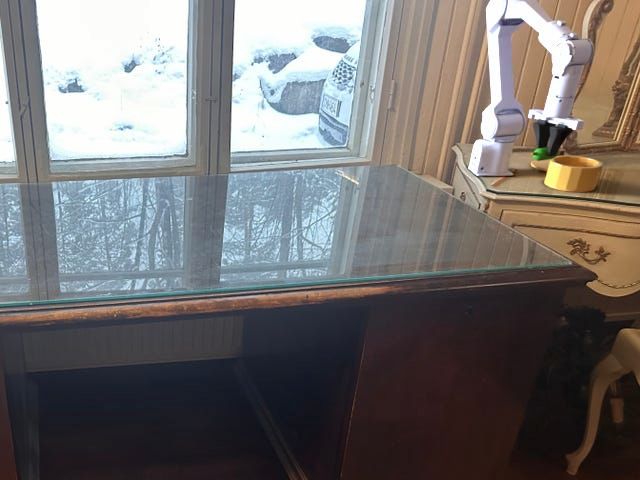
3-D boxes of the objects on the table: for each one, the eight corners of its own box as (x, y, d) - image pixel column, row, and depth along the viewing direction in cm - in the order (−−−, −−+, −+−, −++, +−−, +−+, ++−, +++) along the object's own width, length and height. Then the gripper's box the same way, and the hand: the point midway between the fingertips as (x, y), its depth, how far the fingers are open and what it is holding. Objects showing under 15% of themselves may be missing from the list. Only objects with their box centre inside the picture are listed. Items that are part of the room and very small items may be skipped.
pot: (556, 192, 170) (563, 168, 167) (536, 178, 180) (542, 155, 176) (604, 191, 169) (611, 167, 166) (581, 178, 179) (588, 155, 176)
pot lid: (541, 175, 182) (546, 156, 179) (522, 162, 193) (527, 144, 190) (589, 174, 181) (595, 155, 179) (568, 161, 192) (573, 143, 189)
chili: (534, 163, 165) (538, 151, 163) (525, 160, 167) (528, 147, 166) (559, 159, 167) (563, 147, 165) (550, 156, 169) (553, 144, 168)
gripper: (524, 91, 164) (510, 148, 171) (573, 102, 152) (556, 163, 160) (547, 89, 166) (533, 145, 173) (597, 100, 154) (579, 159, 161)
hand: (545, 153), depth 167 cm, fingers closed on chili, 3 cm apart
